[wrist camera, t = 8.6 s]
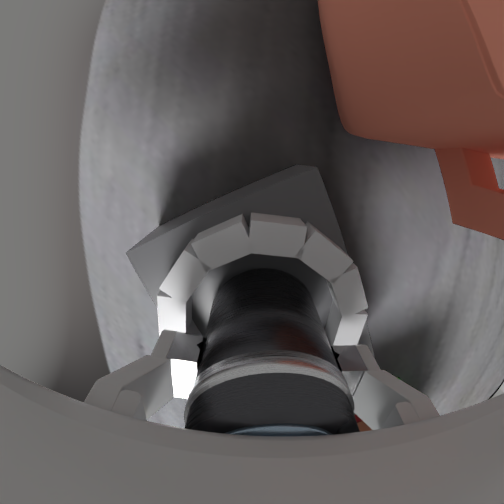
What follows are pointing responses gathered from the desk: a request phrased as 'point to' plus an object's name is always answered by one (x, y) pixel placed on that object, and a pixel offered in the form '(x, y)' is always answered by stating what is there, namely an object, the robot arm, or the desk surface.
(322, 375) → the lens
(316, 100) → the desk surface
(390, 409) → the robot arm
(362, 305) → the camera body
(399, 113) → the teapot
